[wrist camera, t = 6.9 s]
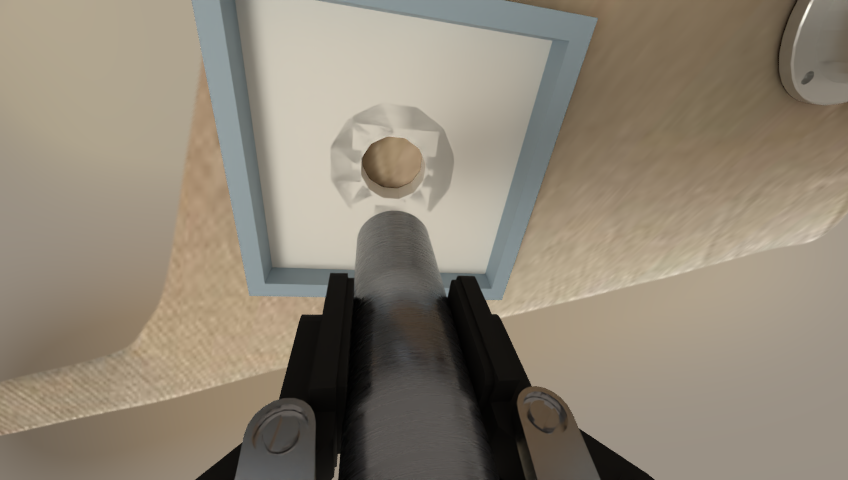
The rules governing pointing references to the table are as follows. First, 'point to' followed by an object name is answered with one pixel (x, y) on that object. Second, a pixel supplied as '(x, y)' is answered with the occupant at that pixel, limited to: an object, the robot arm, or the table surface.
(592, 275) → the table surface
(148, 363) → the table surface
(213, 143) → the table surface
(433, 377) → the peg
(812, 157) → the table surface
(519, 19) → the box
